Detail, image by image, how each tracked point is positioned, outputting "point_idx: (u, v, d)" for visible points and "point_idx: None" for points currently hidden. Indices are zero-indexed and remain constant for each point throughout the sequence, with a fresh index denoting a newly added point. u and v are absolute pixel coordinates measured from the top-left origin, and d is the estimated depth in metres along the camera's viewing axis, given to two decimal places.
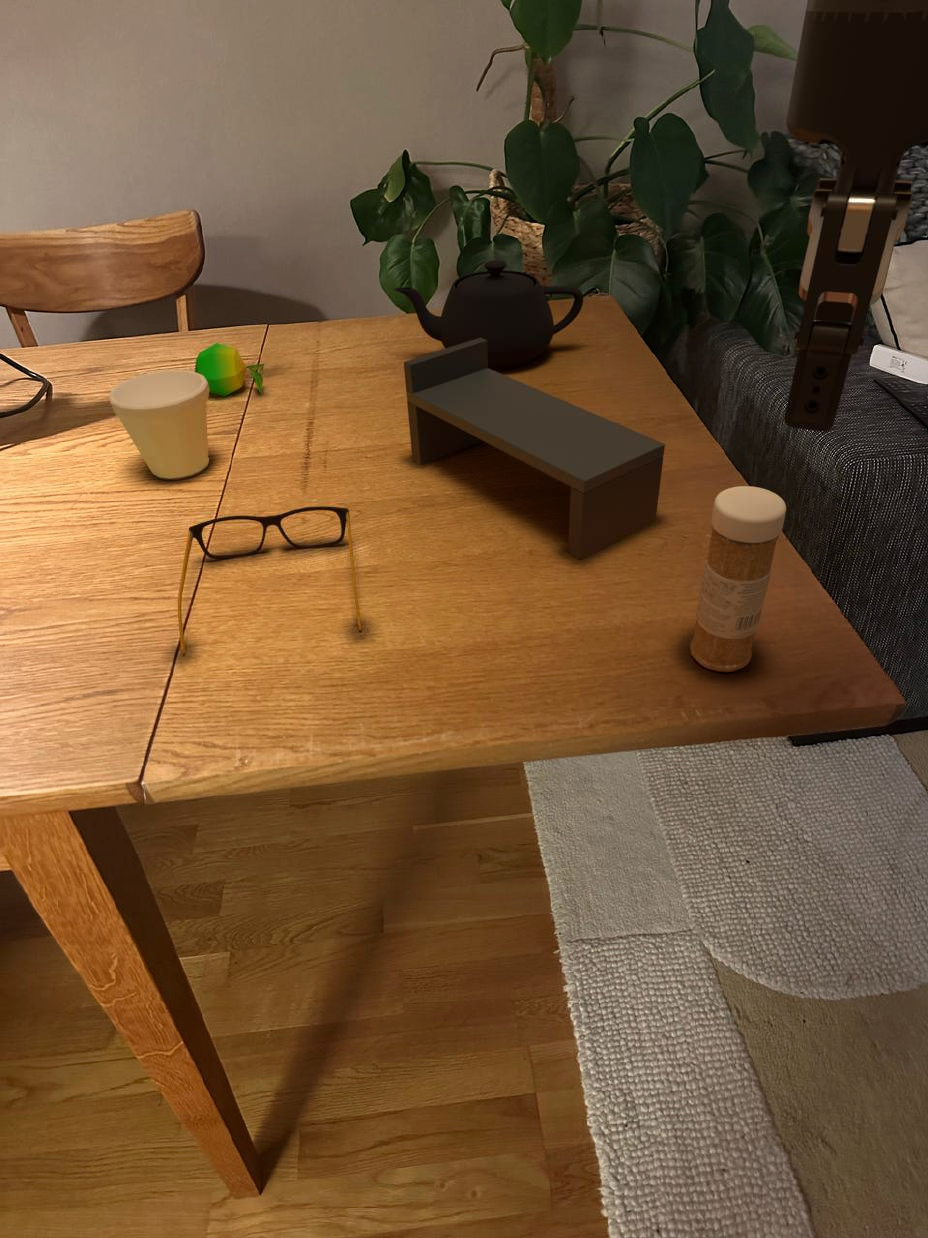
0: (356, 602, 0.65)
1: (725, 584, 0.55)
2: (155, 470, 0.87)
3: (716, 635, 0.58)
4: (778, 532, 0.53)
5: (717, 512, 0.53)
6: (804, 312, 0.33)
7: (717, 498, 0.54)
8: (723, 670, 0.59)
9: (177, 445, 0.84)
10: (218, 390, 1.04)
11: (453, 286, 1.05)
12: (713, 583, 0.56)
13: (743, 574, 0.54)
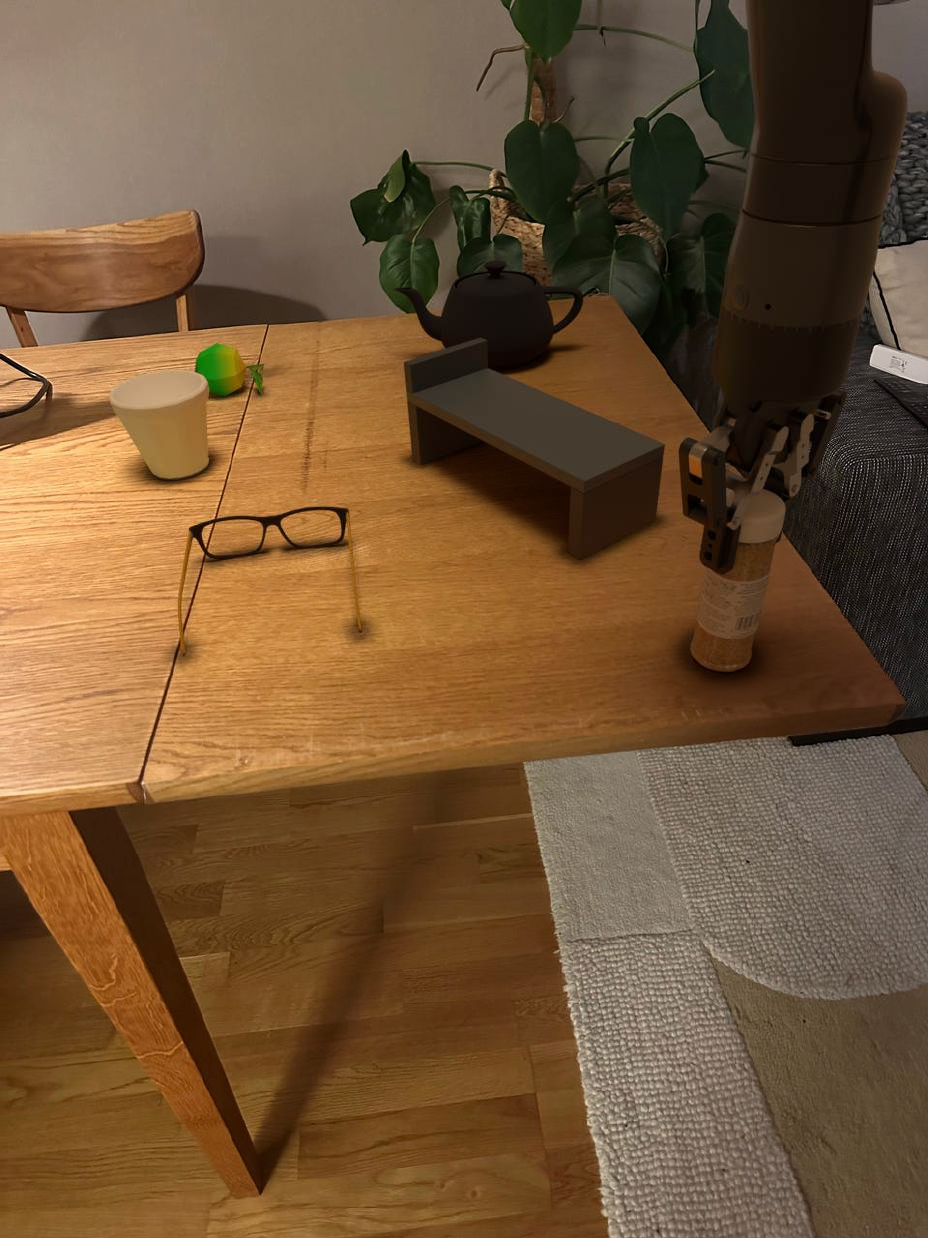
0: (356, 602, 0.65)
1: (725, 584, 0.55)
2: (155, 470, 0.87)
3: (716, 636, 0.58)
4: (777, 532, 0.53)
5: None
6: (682, 500, 0.50)
7: None
8: (723, 670, 0.59)
9: (177, 445, 0.84)
10: (218, 390, 1.04)
11: (453, 286, 1.05)
12: (713, 583, 0.56)
13: (742, 574, 0.54)
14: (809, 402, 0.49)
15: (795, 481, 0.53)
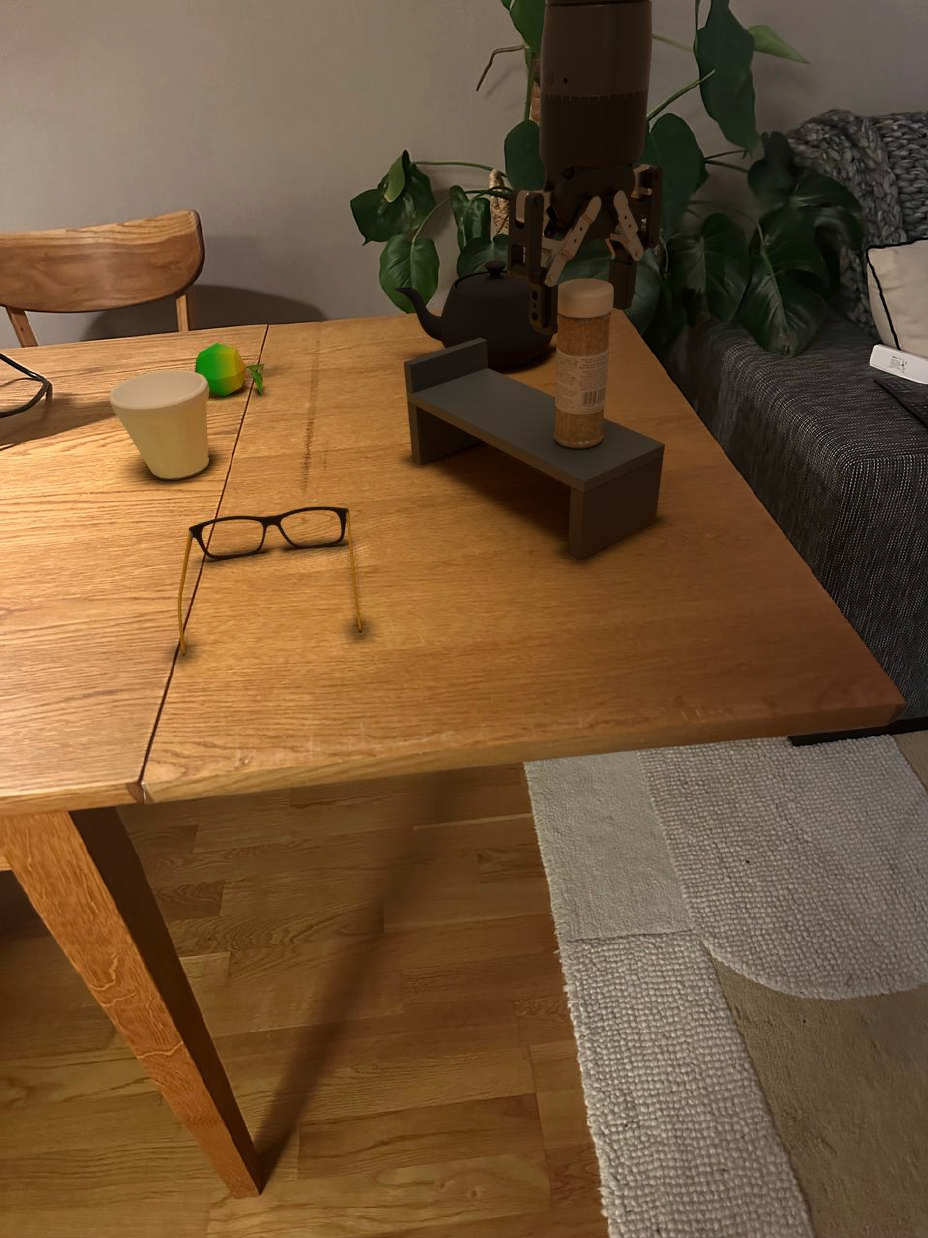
0: (356, 602, 0.65)
1: (569, 360, 0.67)
2: (155, 470, 0.87)
3: (568, 412, 0.69)
4: (606, 309, 0.64)
5: (558, 294, 0.65)
6: None
7: (559, 285, 0.65)
8: (577, 446, 0.71)
9: (177, 445, 0.84)
10: (218, 390, 1.04)
11: (453, 286, 1.05)
12: (561, 362, 0.67)
13: (582, 349, 0.66)
14: (623, 187, 0.61)
15: (635, 247, 0.65)
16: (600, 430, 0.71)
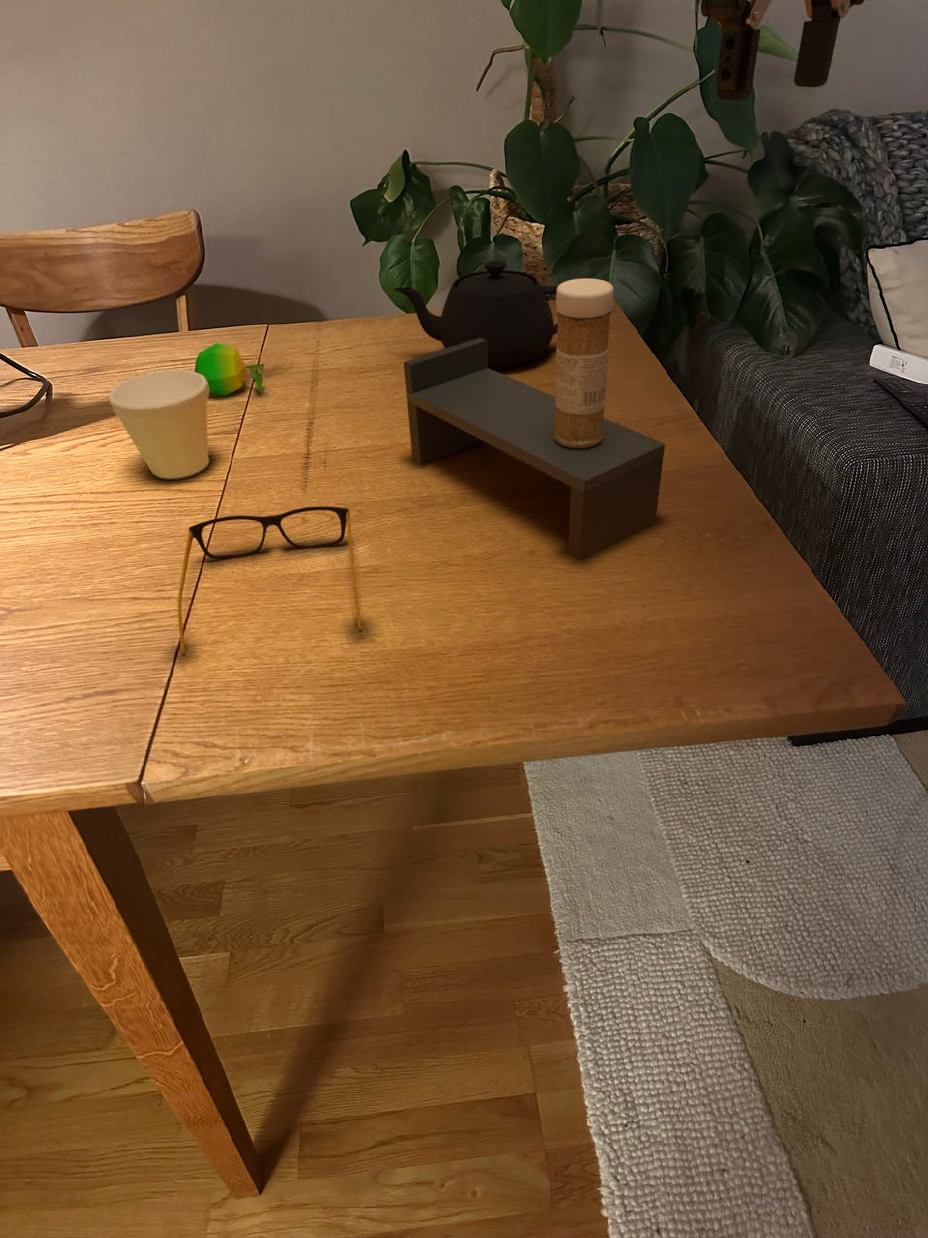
0: (356, 602, 0.65)
1: (569, 360, 0.67)
2: (155, 470, 0.87)
3: (568, 412, 0.69)
4: (606, 309, 0.64)
5: (557, 294, 0.65)
6: None
7: (559, 285, 0.65)
8: (577, 446, 0.71)
9: (177, 445, 0.84)
10: (218, 390, 1.04)
11: (453, 286, 1.05)
12: (561, 362, 0.67)
13: (581, 349, 0.66)
14: None
15: None
16: (600, 430, 0.71)
